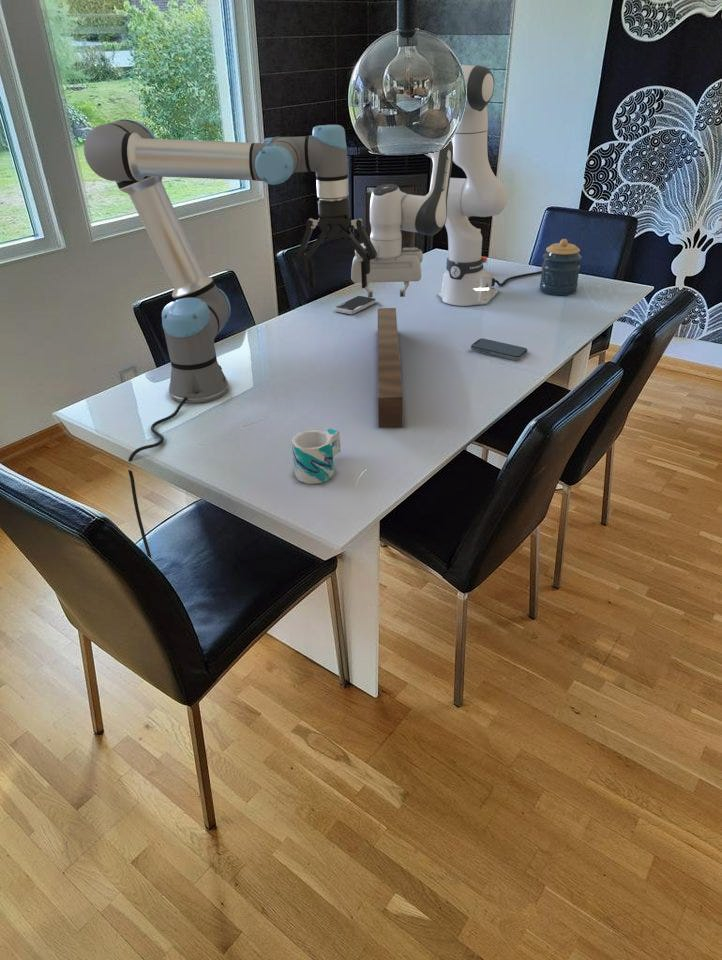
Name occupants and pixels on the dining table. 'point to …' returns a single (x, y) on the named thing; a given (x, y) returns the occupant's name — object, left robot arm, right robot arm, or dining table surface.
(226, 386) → the left robot arm
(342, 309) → the smartphone
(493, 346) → the smartphone
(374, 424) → the dining table surface
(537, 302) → the dining table surface
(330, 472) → the mug
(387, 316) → the beam
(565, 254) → the canister
